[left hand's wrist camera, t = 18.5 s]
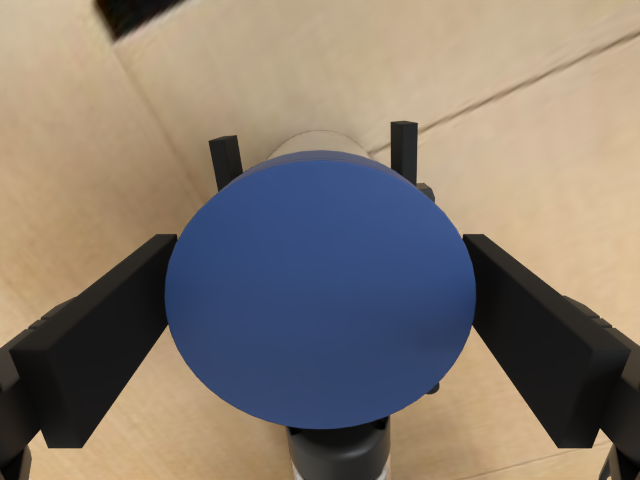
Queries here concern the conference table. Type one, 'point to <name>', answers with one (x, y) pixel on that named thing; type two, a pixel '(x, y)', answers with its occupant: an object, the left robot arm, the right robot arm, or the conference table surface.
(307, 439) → the right robot arm
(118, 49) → the conference table surface
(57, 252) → the conference table surface
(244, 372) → the lid
